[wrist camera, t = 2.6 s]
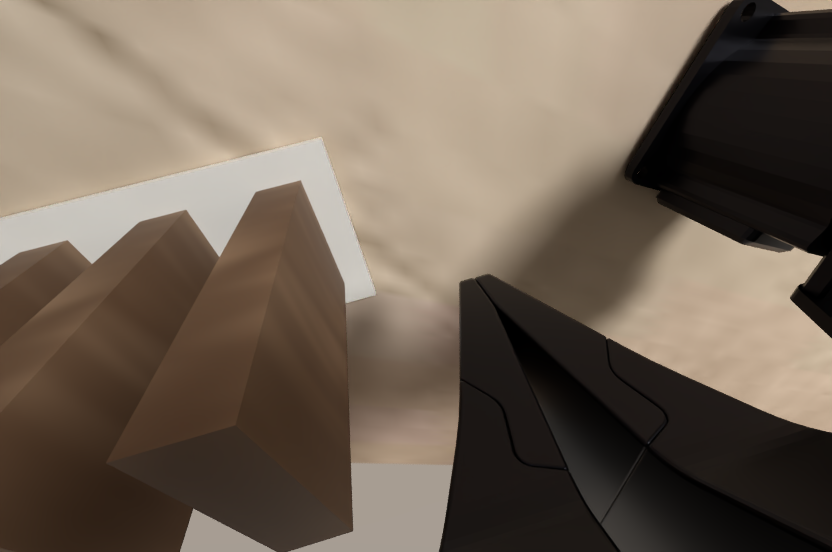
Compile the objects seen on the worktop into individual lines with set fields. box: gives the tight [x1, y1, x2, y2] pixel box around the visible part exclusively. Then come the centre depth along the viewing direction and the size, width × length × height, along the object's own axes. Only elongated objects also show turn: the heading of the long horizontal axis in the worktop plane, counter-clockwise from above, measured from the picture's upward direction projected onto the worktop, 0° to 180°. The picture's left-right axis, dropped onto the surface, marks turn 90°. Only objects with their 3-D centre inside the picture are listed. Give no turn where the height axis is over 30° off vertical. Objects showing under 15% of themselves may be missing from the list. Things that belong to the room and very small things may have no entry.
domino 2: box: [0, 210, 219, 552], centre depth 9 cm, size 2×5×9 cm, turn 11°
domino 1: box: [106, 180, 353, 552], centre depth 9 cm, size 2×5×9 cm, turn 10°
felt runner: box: [0, 137, 376, 303], centre depth 12 cm, size 20×7×1 cm, turn 101°
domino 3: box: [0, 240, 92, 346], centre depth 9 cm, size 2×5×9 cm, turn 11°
